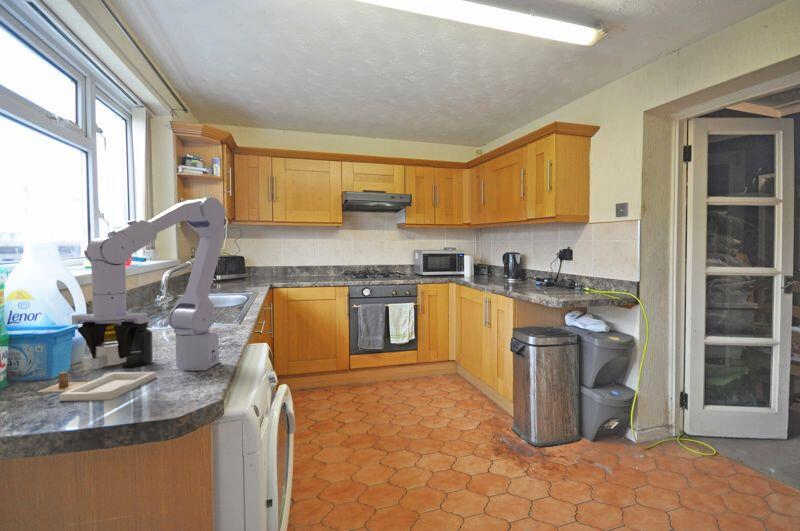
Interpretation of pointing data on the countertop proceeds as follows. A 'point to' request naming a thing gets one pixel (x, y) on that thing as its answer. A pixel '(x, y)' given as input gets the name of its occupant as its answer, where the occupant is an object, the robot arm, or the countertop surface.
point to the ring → (106, 355)
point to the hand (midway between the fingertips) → (111, 357)
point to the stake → (62, 384)
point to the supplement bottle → (140, 349)
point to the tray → (108, 386)
